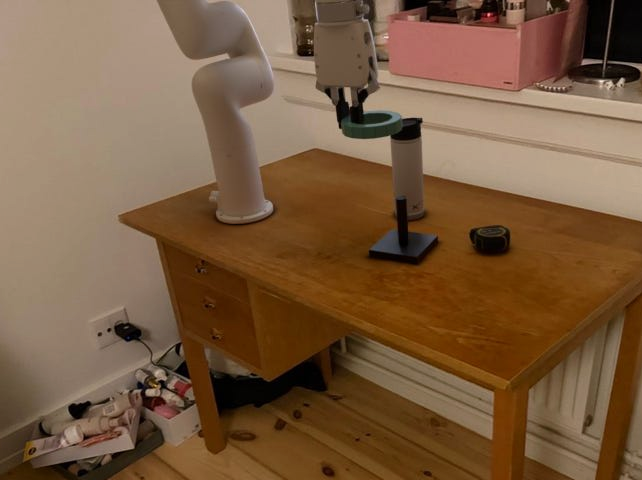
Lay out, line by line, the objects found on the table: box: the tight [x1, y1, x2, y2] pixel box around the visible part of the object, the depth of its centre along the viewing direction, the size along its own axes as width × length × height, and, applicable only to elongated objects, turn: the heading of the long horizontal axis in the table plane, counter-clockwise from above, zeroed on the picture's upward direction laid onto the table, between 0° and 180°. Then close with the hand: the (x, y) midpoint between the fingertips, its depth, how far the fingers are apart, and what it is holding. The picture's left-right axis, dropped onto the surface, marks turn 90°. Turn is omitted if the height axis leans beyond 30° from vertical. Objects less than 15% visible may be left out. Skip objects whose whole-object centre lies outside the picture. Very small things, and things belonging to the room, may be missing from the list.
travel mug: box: [389, 117, 425, 221], centre depth 144 cm, size 6×7×20 cm
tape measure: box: [468, 224, 511, 253], centre depth 132 cm, size 7×7×4 cm
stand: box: [368, 196, 439, 265], centre depth 132 cm, size 10×10×10 cm
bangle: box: [341, 109, 403, 140], centre depth 122 cm, size 10×10×2 cm
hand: (351, 126), depth 124 cm, fingers closed on bangle, 2 cm apart
